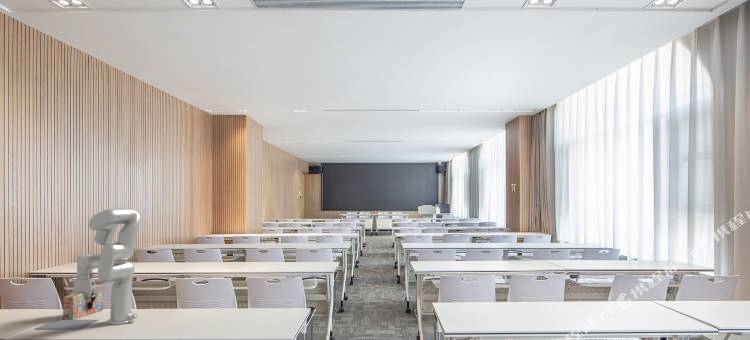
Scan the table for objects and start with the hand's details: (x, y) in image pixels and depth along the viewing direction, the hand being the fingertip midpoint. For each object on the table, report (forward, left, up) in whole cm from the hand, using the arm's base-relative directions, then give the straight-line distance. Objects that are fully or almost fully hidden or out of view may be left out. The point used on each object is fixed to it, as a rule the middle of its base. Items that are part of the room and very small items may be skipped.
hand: (83, 308), depth 254 cm
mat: (-4, +20, -3) cm, 20 cm away
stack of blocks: (0, 0, -4) cm, 4 cm away
